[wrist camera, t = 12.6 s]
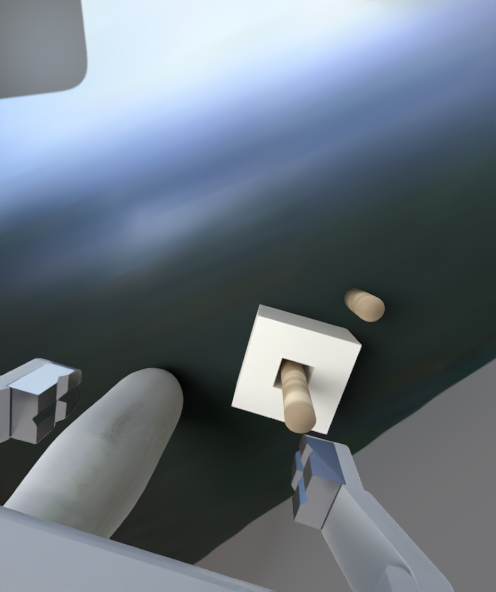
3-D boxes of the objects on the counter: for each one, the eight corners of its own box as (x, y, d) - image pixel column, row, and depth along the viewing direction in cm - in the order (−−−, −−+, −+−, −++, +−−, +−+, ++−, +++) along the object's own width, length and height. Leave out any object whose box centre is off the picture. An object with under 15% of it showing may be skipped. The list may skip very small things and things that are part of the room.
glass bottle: (187, 420, 42) (29, 752, 14) (127, 404, 42) (-135, 699, 15) (197, 366, 40) (36, 636, 12) (135, 350, 40) (-155, 578, 13)
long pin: (282, 344, 38) (289, 401, 24) (302, 350, 38) (320, 410, 24) (277, 362, 38) (280, 427, 25) (296, 368, 38) (310, 436, 25)
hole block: (259, 304, 37) (257, 315, 31) (347, 329, 36) (361, 345, 31) (237, 382, 40) (231, 406, 34) (318, 406, 39) (326, 434, 33)
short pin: (347, 285, 35) (363, 293, 29) (368, 291, 35) (388, 300, 29) (340, 305, 36) (354, 317, 30) (361, 311, 36) (378, 324, 30)
